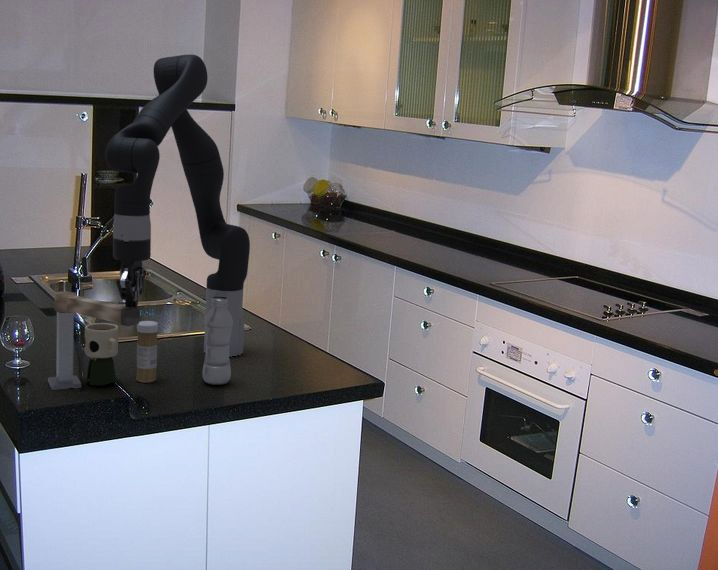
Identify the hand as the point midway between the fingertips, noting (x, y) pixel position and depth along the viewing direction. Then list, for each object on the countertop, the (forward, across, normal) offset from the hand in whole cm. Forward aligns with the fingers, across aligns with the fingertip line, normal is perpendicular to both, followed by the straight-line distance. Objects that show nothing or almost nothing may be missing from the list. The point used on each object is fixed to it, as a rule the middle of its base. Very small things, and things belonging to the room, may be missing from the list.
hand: (131, 317), depth 182 cm
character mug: (+17, -6, -9) cm, 20 cm away
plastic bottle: (+18, -13, +16) cm, 27 cm away
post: (+17, -3, -16) cm, 23 cm away
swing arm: (0, 0, -8) cm, 8 cm away
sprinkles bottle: (+17, -11, 0) cm, 21 cm away
